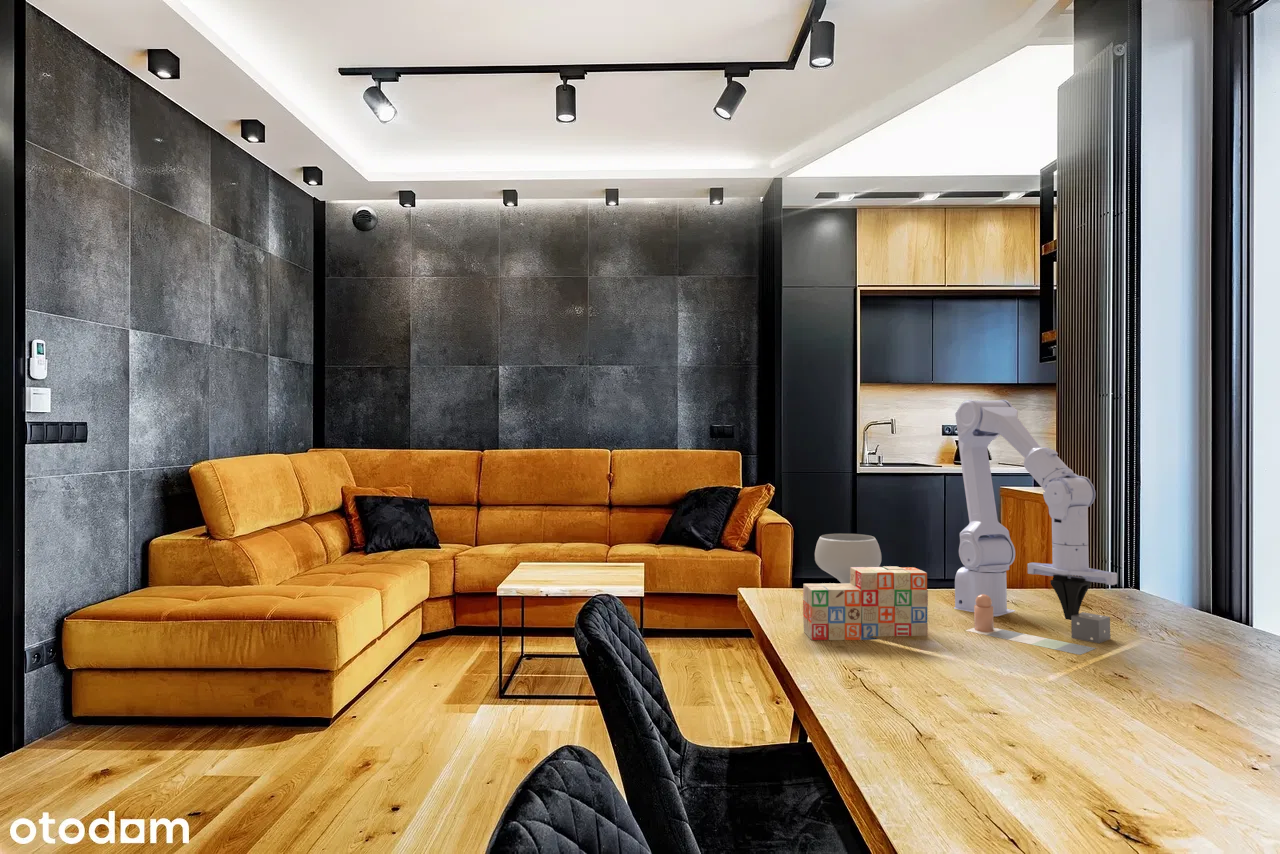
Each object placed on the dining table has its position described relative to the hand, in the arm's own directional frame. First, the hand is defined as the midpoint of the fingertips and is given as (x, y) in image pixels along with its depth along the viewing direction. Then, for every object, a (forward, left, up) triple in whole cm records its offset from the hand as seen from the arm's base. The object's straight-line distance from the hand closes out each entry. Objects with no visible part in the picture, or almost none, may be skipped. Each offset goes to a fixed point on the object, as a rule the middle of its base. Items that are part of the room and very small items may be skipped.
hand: (1071, 619), depth 136 cm
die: (+3, 0, -3) cm, 5 cm away
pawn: (-11, -9, -3) cm, 15 cm away
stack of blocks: (-24, -27, -4) cm, 37 cm away
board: (-3, -9, -3) cm, 10 cm away
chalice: (-41, -10, -4) cm, 43 cm away
